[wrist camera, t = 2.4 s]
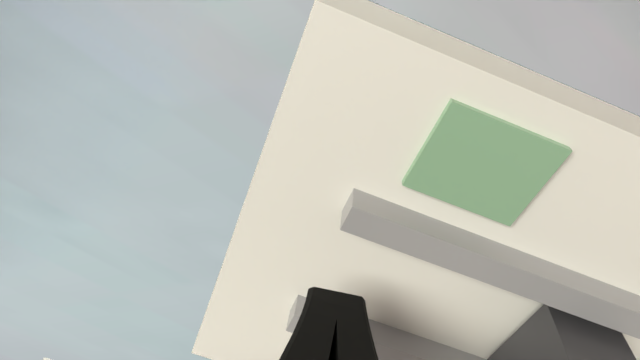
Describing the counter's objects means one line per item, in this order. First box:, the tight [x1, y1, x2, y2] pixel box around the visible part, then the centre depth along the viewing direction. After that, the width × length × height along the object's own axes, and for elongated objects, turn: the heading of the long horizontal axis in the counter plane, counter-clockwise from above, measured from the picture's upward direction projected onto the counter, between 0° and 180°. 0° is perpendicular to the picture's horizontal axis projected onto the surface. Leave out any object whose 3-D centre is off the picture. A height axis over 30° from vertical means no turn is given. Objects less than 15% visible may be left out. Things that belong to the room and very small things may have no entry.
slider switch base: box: [192, 0, 640, 360], centre depth 14 cm, size 20×13×3 cm, turn 69°
